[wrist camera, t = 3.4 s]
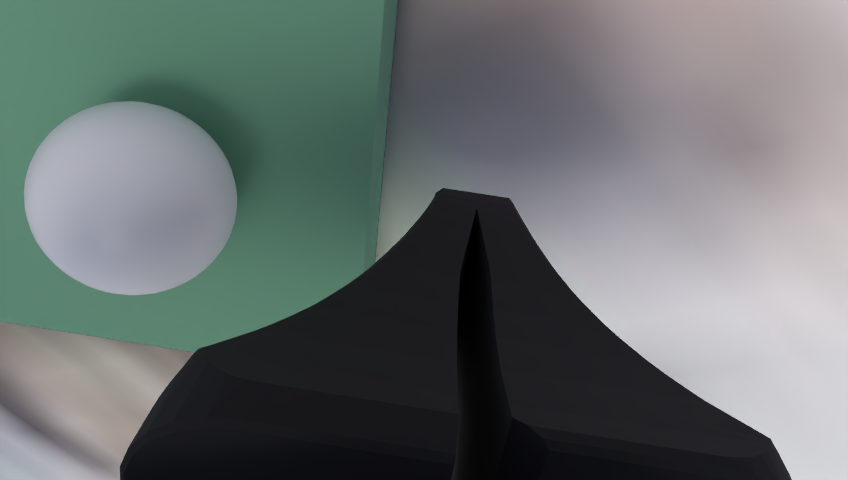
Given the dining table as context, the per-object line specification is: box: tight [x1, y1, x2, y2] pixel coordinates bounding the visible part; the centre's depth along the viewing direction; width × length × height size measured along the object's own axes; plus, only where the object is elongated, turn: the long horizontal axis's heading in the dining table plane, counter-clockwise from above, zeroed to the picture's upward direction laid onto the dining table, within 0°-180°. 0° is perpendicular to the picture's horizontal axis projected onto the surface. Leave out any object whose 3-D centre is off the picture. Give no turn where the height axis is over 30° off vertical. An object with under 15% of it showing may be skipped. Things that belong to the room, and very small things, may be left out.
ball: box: [24, 101, 237, 295], centre depth 11 cm, size 4×4×4 cm
